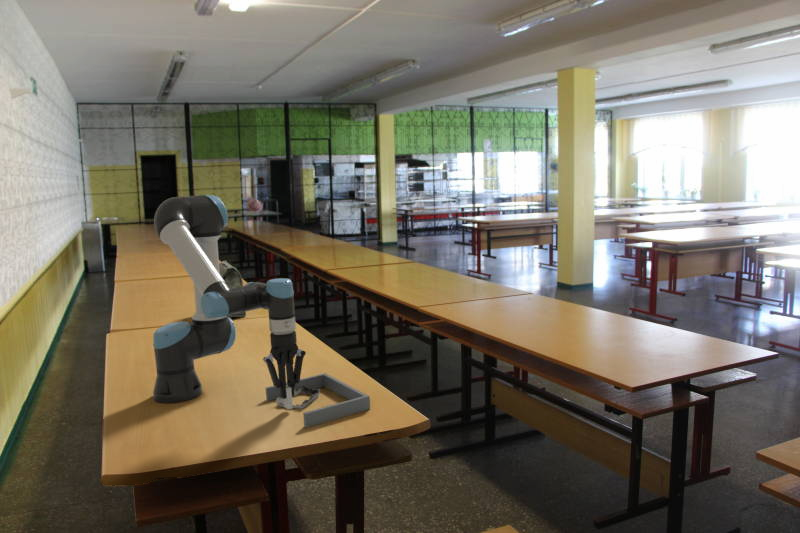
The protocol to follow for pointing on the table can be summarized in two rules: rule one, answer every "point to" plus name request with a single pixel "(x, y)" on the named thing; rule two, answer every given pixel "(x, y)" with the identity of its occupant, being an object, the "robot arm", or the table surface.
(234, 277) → the bag
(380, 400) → the table surface
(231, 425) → the table surface
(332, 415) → the box
